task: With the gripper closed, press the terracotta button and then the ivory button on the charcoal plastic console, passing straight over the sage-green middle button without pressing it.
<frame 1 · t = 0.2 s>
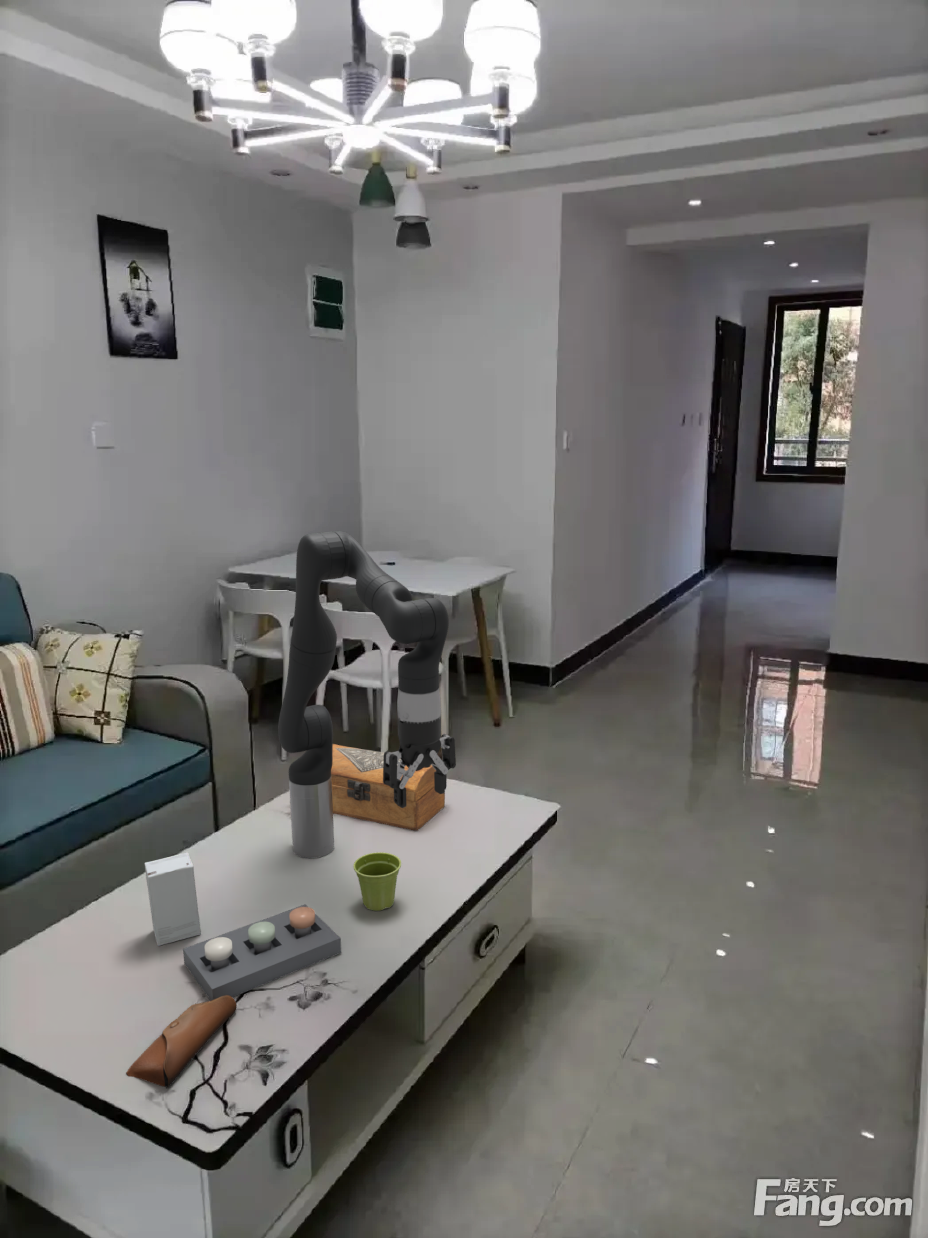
hand: (420, 799, 157), 29 cm above the table, fingers open, 8 cm apart
ivory button: (219, 956, 154), point 4 cm above the table, slide at 0.0 cm
skincare box: (176, 935, 167), on the table
sage button: (262, 940, 158), point 4 cm above the table, slide at 0.0 cm
sunglasses case: (183, 1046, 138), on the table
plant pot: (378, 904, 177), on the table
terracotta button: (302, 924, 163), point 4 cm above the table, slide at 0.0 cm
console: (263, 958, 159), on the table
wooden box: (376, 809, 218), on the table
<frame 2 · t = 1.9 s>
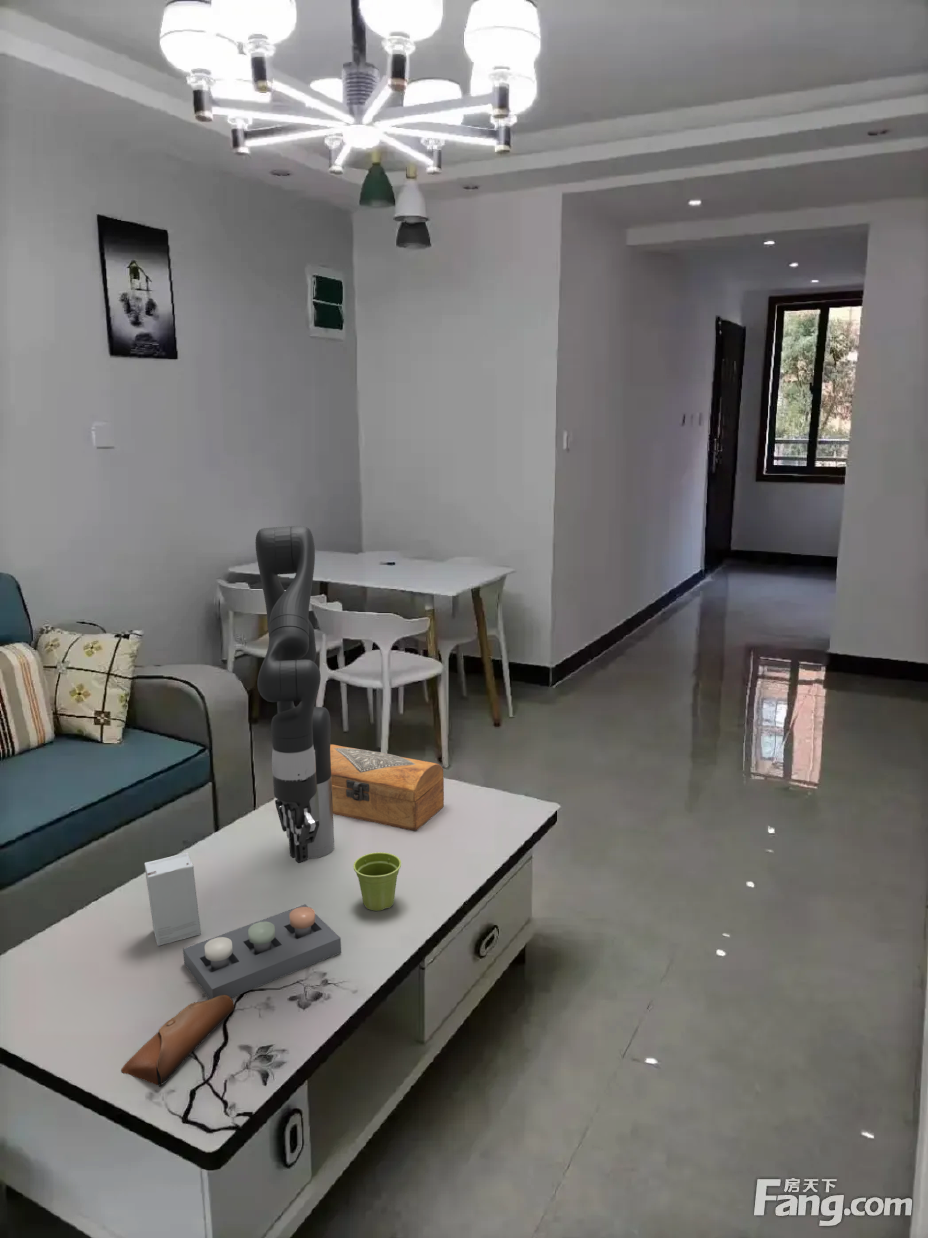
hand: (299, 858, 160), 17 cm above the table, fingers closed
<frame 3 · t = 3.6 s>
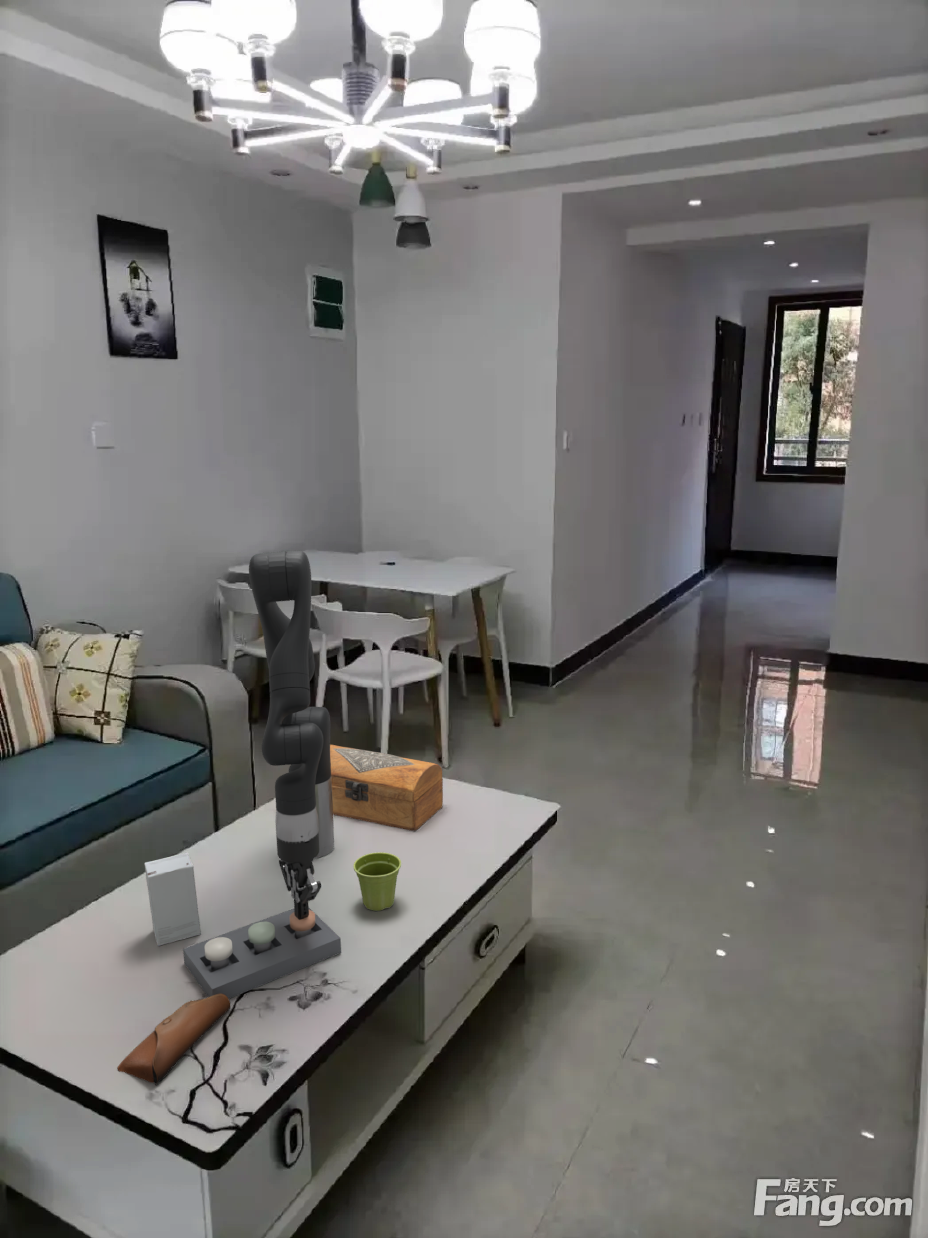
hand: (301, 916, 162), 5 cm above the table, fingers closed
terracotta button: (302, 927, 163), point 3 cm above the table, slide at 0.5 cm, touching console, gripper
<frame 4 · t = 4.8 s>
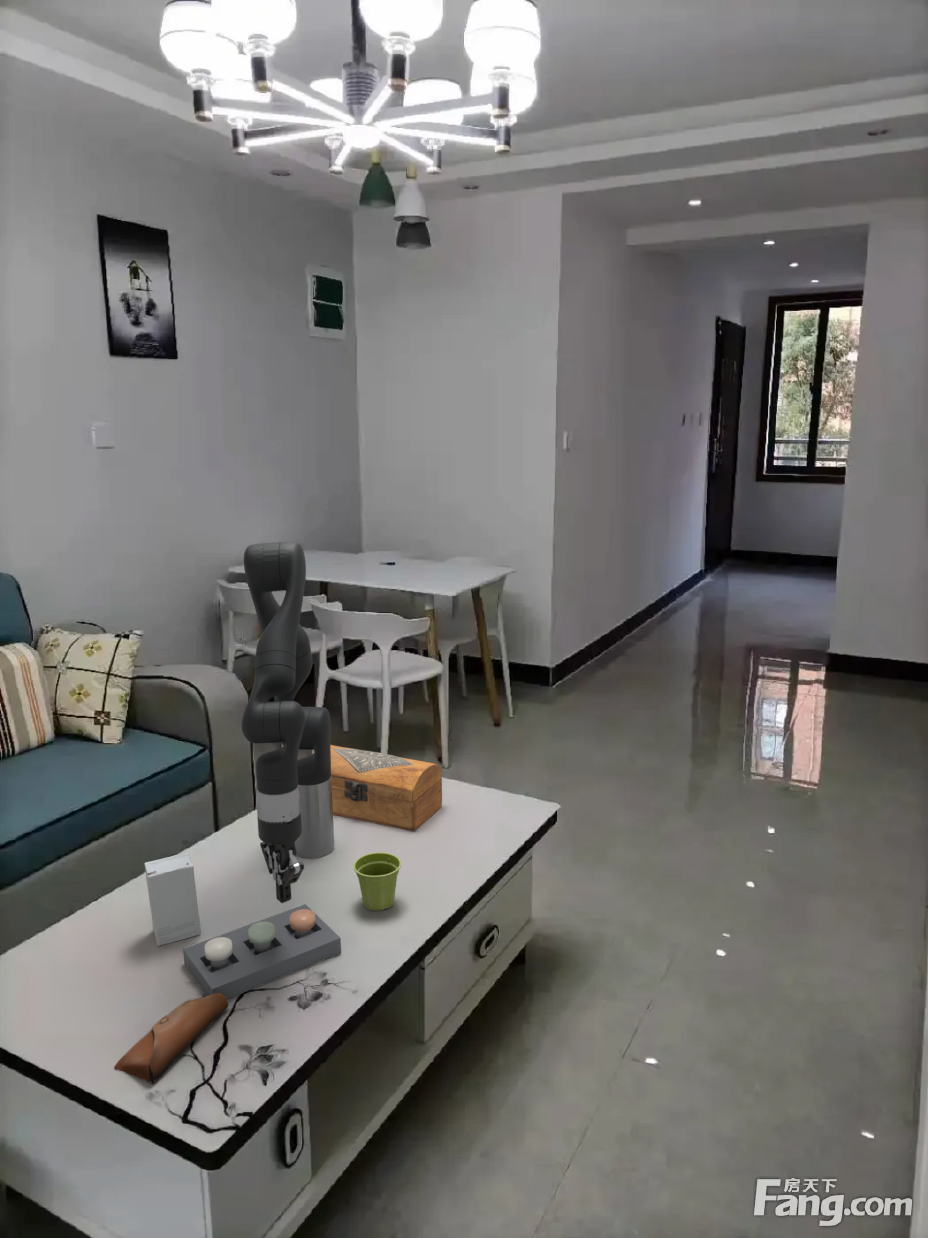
hand: (284, 900, 159), 10 cm above the table, fingers closed
terracotta button: (302, 927, 163), point 3 cm above the table, slide at 0.5 cm, touching console
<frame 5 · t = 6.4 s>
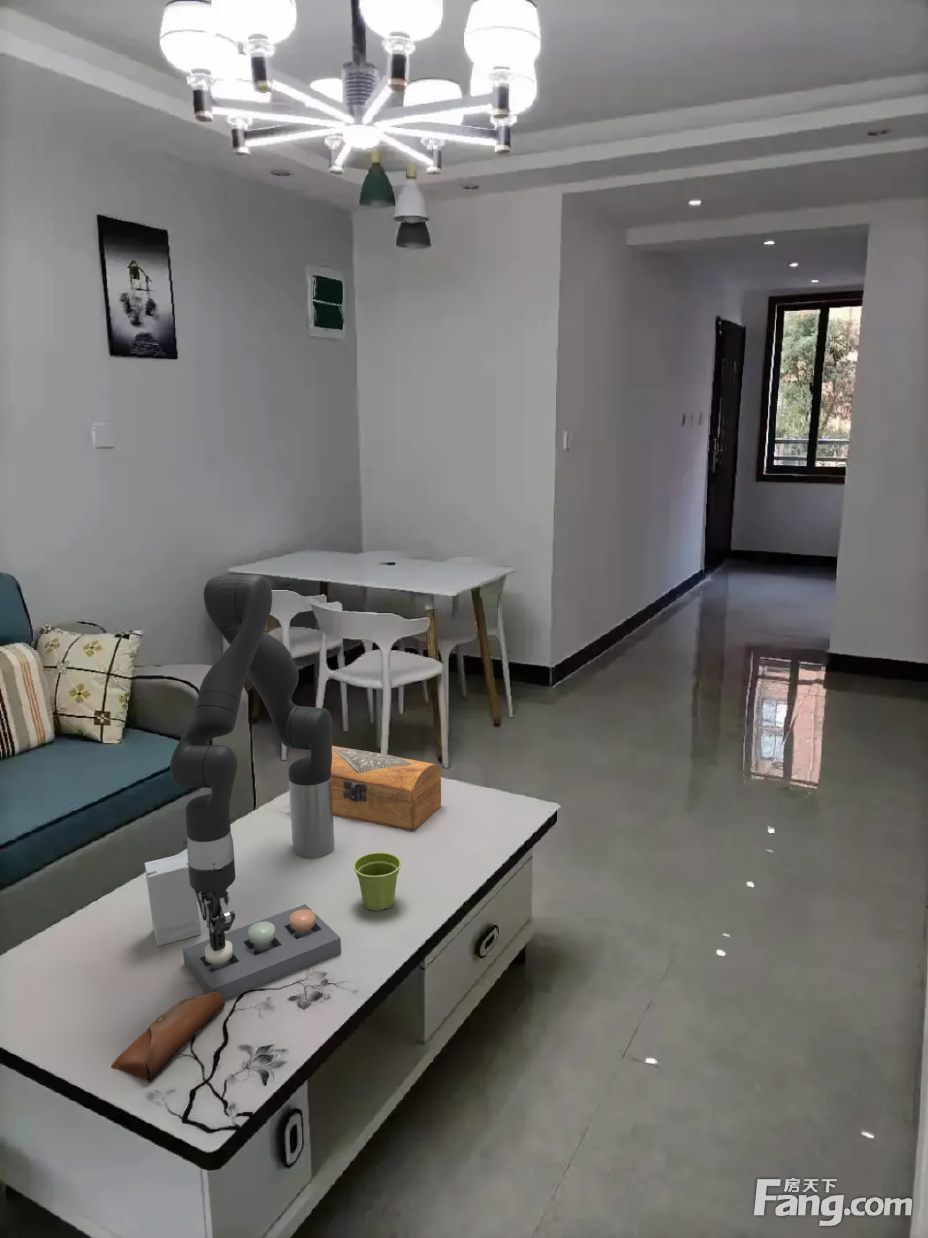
hand: (218, 948, 153), 5 cm above the table, fingers closed
ivory button: (219, 958, 154), point 3 cm above the table, slide at 0.5 cm, touching console, gripper
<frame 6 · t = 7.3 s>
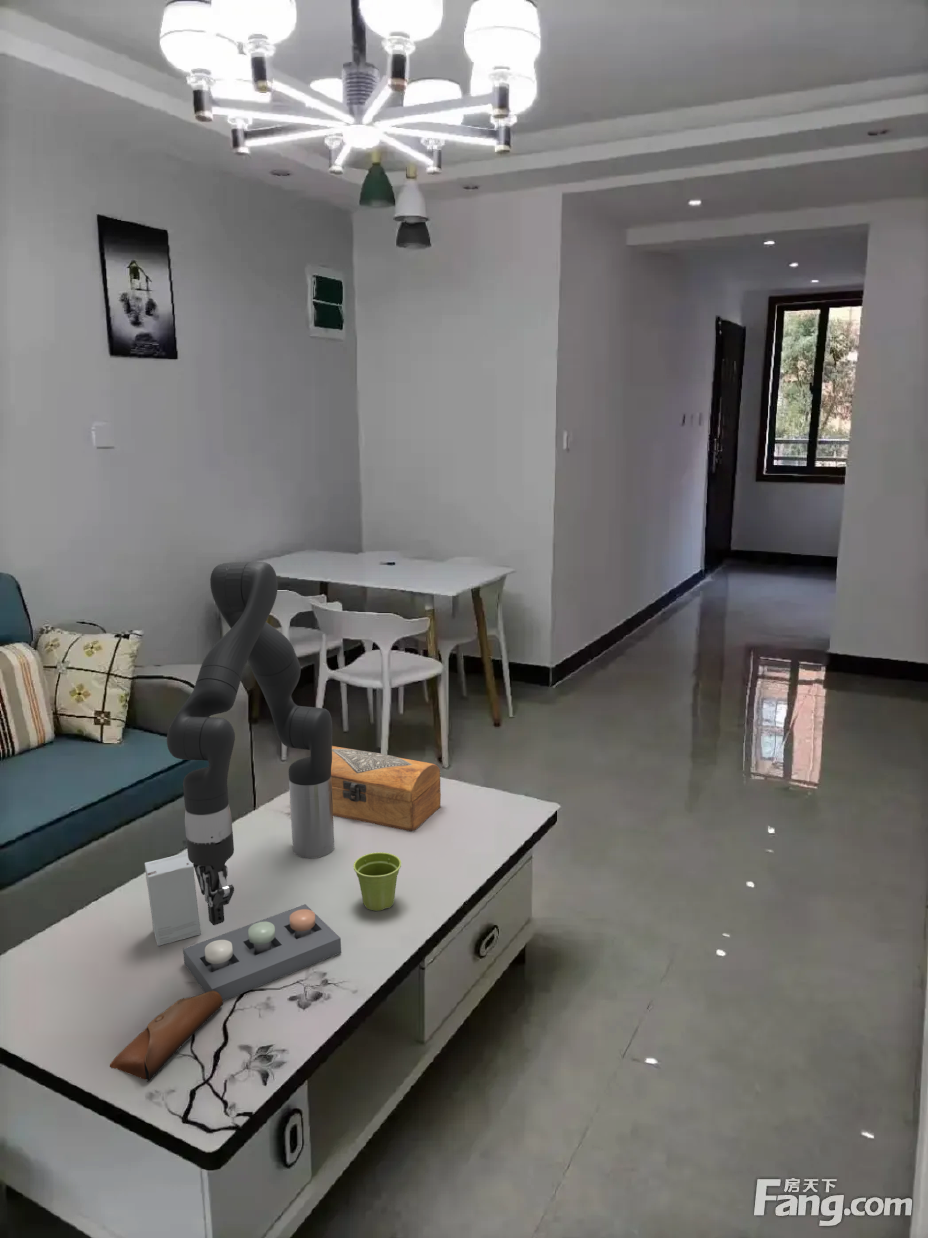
hand: (217, 922, 152), 10 cm above the table, fingers closed
ivory button: (219, 958, 154), point 3 cm above the table, slide at 0.5 cm, touching console
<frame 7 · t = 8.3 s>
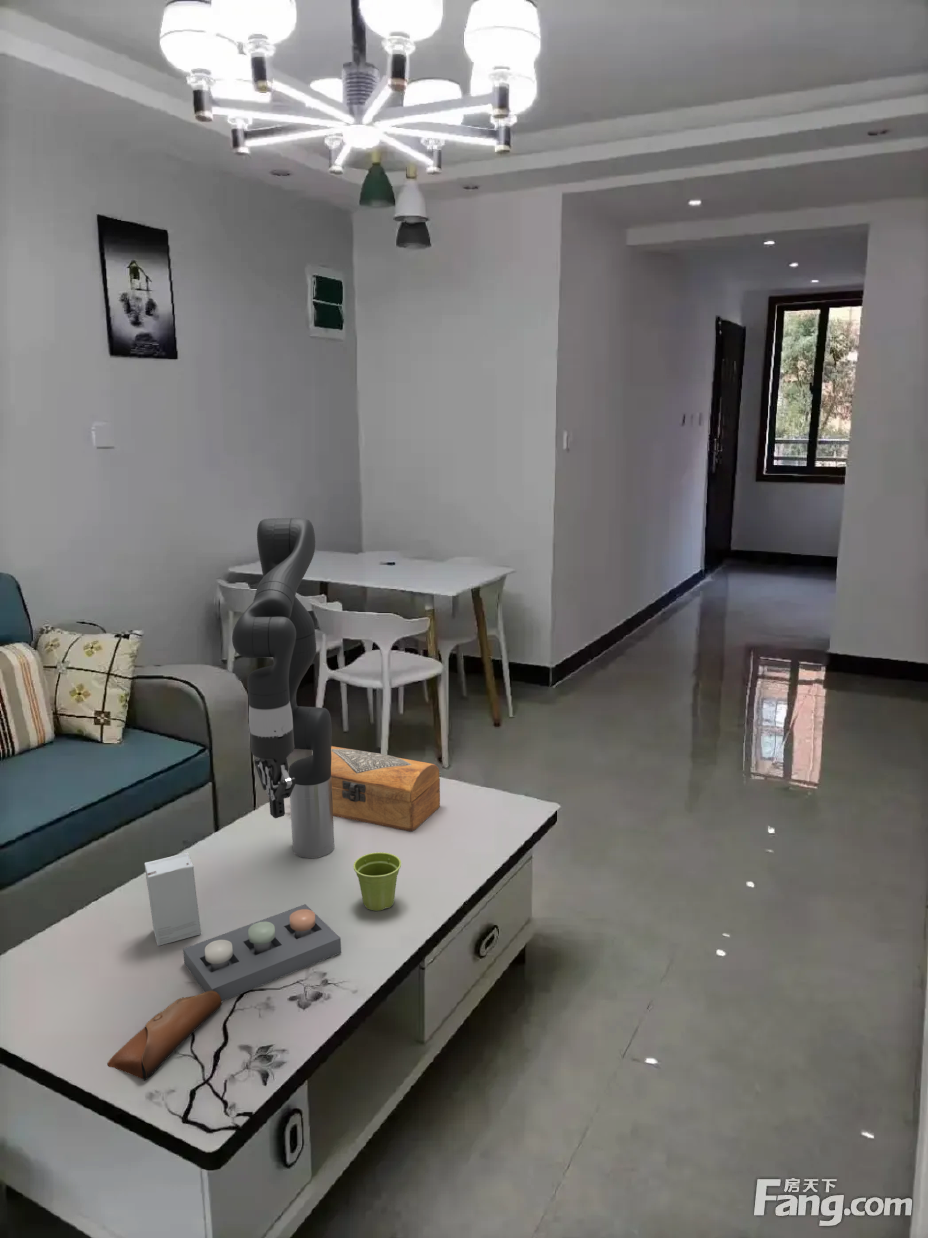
hand: (277, 815, 160), 24 cm above the table, fingers closed
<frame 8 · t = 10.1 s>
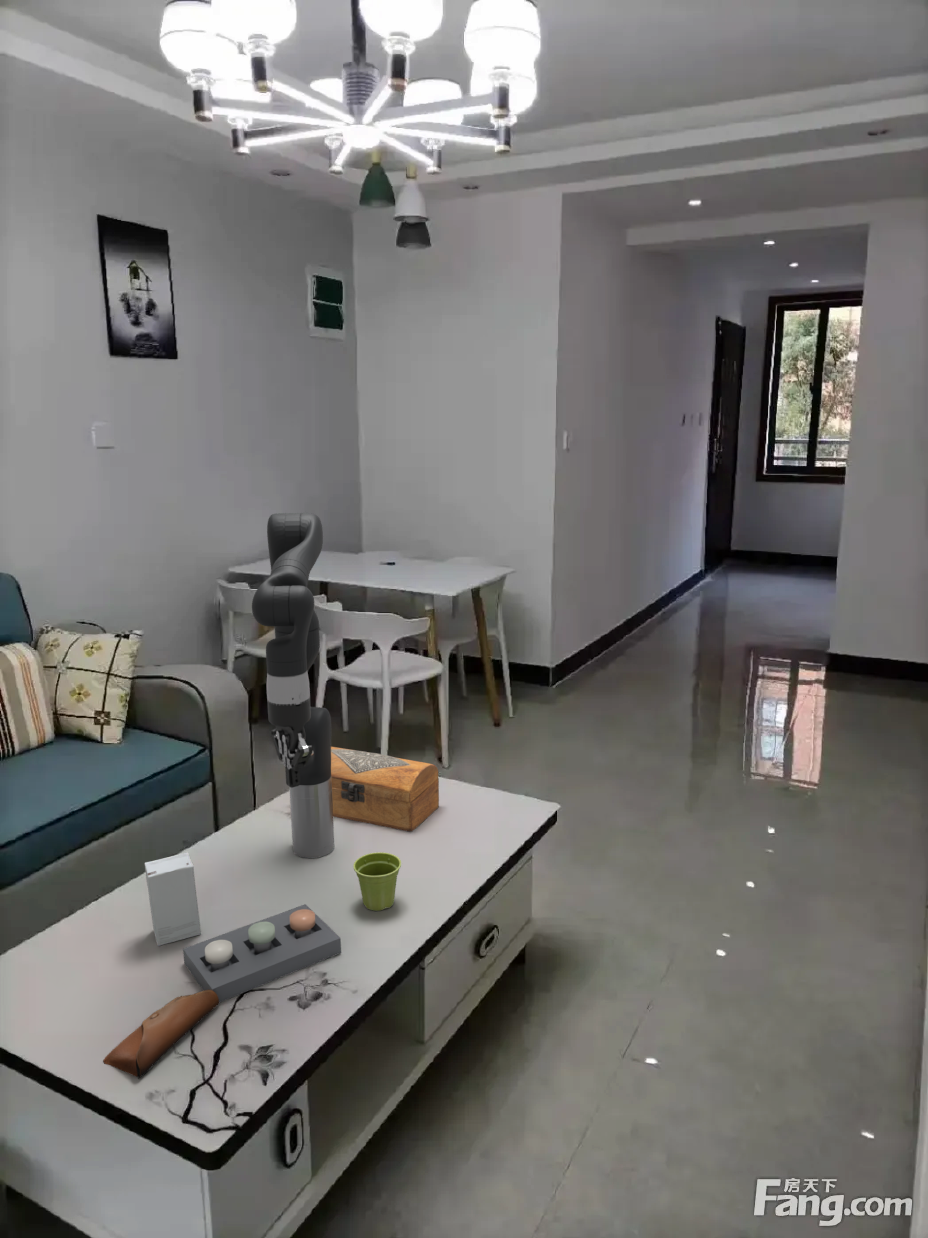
hand: (293, 785, 162), 29 cm above the table, fingers closed
at the end: terracotta button slide at 0.5 cm; ivory button slide at 0.5 cm; sage button slide at 0.0 cm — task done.
